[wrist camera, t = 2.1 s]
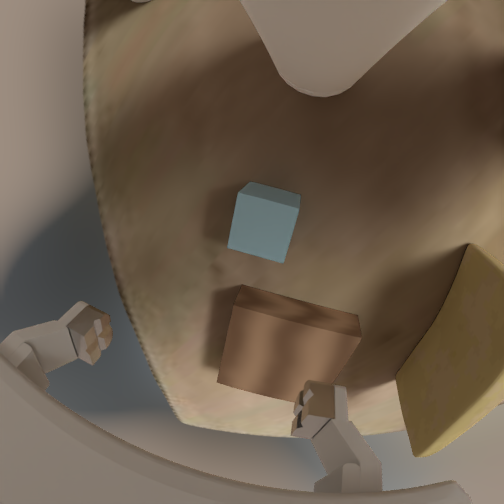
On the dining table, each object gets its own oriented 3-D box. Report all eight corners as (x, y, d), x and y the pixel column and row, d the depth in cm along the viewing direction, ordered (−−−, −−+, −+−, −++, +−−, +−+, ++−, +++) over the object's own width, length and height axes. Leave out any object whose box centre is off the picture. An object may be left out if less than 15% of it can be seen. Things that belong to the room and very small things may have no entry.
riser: (357, 315, 30) (362, 338, 26) (316, 384, 36) (315, 406, 32) (242, 284, 31) (233, 305, 27) (224, 361, 37) (216, 382, 33)
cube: (300, 194, 25) (299, 208, 21) (287, 241, 28) (283, 263, 23) (250, 181, 26) (238, 192, 21) (240, 227, 28) (227, 247, 24)
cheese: (418, 381, 33) (436, 461, 20) (373, 370, 33) (383, 463, 20) (507, 267, 23) (568, 338, 10) (468, 237, 23) (544, 316, 10)
